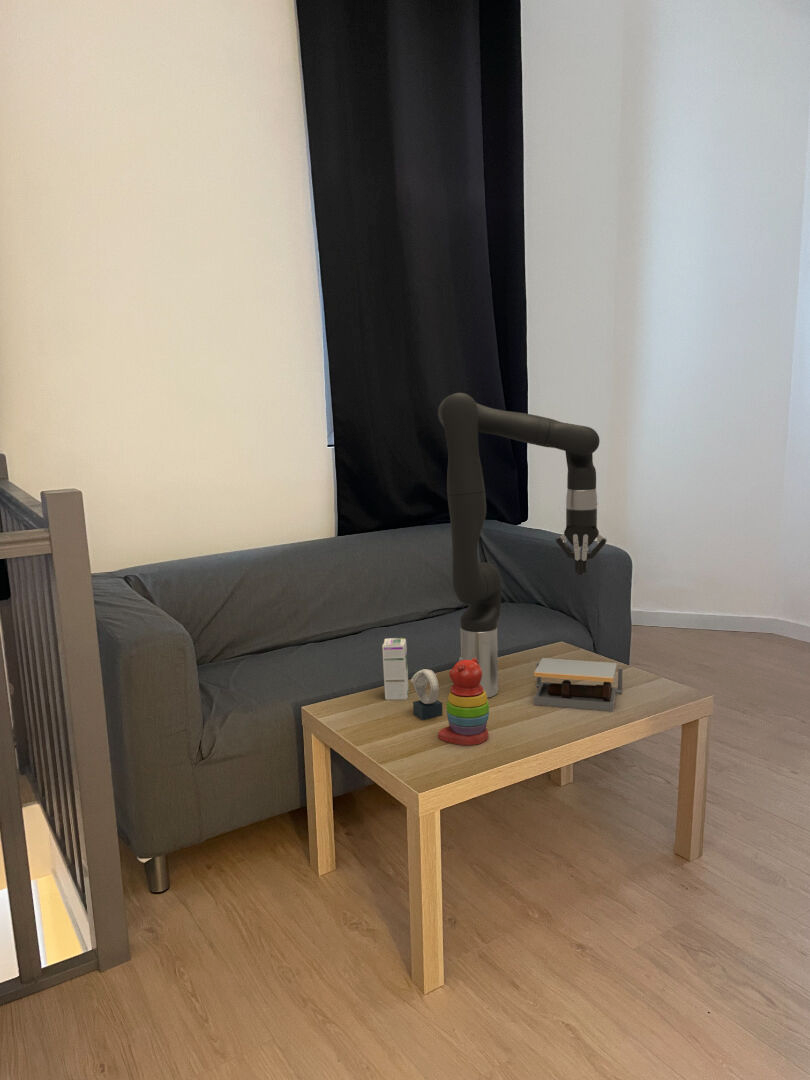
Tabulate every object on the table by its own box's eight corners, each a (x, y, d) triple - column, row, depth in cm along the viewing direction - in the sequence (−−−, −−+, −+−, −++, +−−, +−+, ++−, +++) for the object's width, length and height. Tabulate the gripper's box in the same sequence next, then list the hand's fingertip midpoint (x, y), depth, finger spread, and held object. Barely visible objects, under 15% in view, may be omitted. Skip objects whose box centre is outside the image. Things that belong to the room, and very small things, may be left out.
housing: (528, 704, 202) (528, 680, 201) (537, 683, 216) (537, 661, 215) (619, 711, 196) (619, 687, 195) (622, 689, 209) (622, 667, 208)
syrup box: (407, 700, 207) (405, 644, 205) (384, 700, 208) (381, 644, 205) (408, 691, 213) (407, 637, 210) (386, 691, 213) (384, 637, 211)
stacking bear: (467, 723, 192) (465, 649, 189) (500, 735, 185) (499, 659, 181) (433, 737, 185) (431, 661, 182) (467, 750, 178) (465, 671, 174)
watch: (429, 706, 203) (427, 663, 200) (446, 717, 196) (445, 673, 194) (409, 711, 200) (407, 668, 198) (425, 722, 193) (424, 677, 191)
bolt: (549, 702, 206) (611, 706, 201) (545, 699, 201) (609, 703, 197) (550, 679, 208) (611, 682, 203) (547, 675, 203) (609, 678, 198)
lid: (534, 677, 200) (534, 672, 200) (542, 662, 214) (542, 657, 214) (613, 683, 195) (613, 678, 194) (616, 667, 208) (616, 662, 208)
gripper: (552, 508, 205) (552, 576, 208) (607, 509, 201) (606, 578, 204) (556, 504, 212) (556, 570, 215) (609, 504, 208) (608, 572, 211)
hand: (581, 574), depth 210 cm, fingers closed
